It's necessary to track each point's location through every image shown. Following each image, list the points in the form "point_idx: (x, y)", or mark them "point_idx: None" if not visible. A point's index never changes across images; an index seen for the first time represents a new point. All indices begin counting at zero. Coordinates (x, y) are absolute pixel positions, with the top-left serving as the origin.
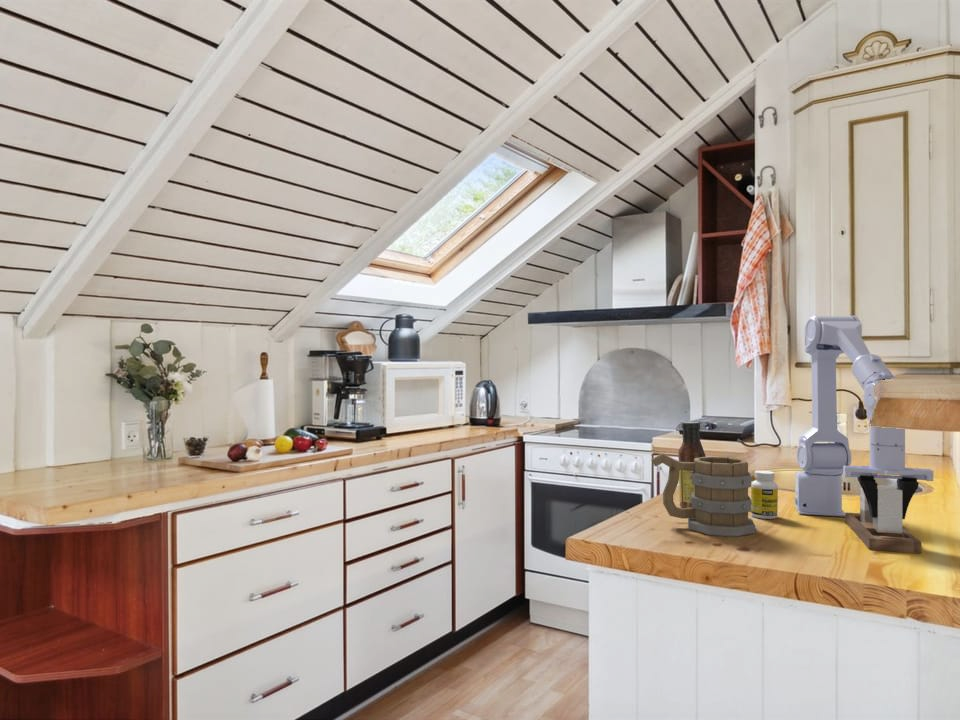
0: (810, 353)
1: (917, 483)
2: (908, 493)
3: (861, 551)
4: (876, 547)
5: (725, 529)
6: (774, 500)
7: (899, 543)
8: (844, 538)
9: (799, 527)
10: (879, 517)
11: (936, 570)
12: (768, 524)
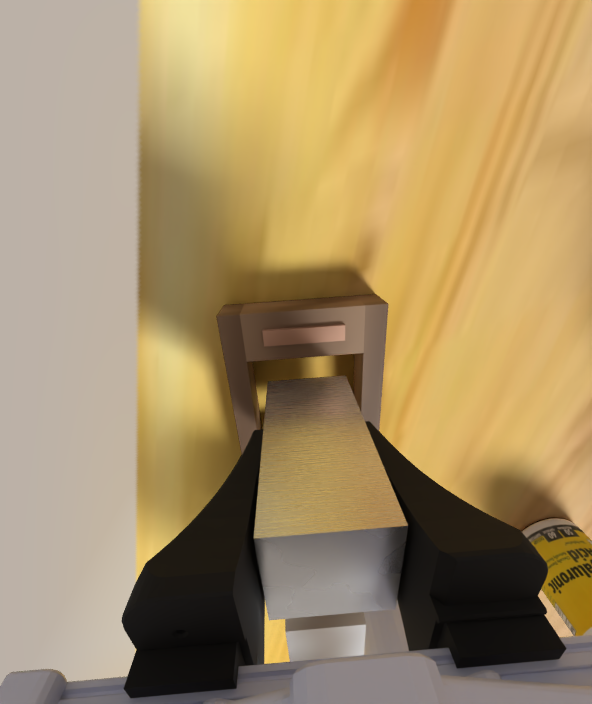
0: None
1: (131, 601)
2: (219, 520)
3: (407, 261)
4: (356, 298)
5: None
6: (570, 577)
7: (287, 309)
8: (411, 404)
9: (495, 472)
10: (352, 407)
11: (193, 43)
12: (567, 475)
